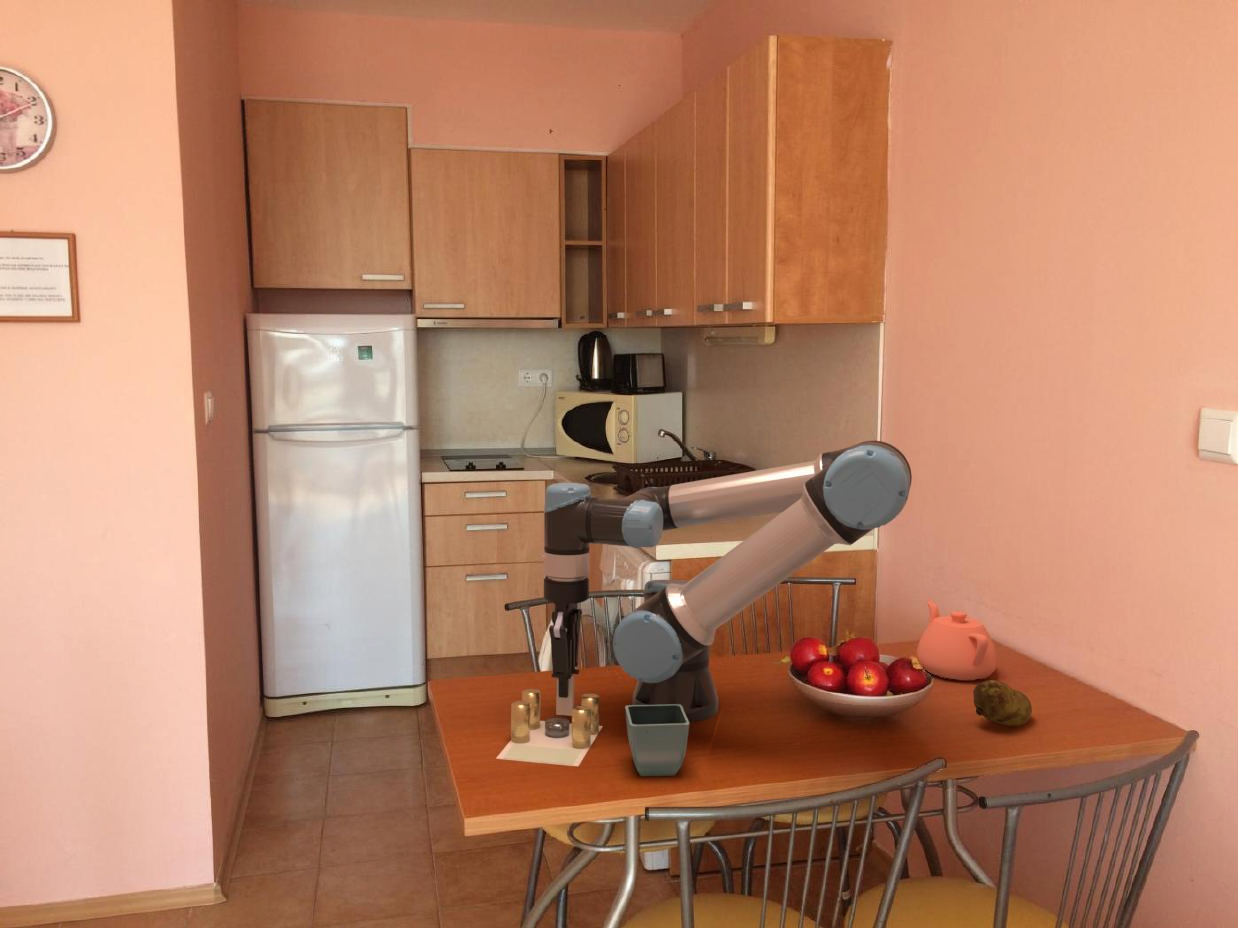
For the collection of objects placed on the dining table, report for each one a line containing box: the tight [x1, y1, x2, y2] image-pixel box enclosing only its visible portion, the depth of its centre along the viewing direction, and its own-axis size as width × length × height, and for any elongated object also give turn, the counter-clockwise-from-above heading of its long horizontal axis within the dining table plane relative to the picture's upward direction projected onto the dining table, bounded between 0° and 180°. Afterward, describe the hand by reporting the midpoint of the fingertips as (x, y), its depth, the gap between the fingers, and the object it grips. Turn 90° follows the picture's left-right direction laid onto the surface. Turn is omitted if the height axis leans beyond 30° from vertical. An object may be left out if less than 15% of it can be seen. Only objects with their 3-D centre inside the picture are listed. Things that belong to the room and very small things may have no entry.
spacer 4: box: [571, 705, 592, 749], centre depth 163 cm, size 3×3×6 cm
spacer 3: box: [580, 693, 600, 735], centre depth 169 cm, size 3×3×6 cm
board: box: [495, 720, 603, 767], centre depth 165 cm, size 13×17×1 cm
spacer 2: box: [521, 688, 541, 730], centre depth 171 cm, size 3×3×6 cm
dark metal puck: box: [544, 717, 570, 738], centre depth 168 cm, size 4×4×2 cm
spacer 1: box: [510, 700, 530, 744], centre depth 165 cm, size 3×3×6 cm
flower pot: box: [624, 704, 690, 777], centre depth 155 cm, size 9×9×9 cm
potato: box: [972, 679, 1033, 727], centre depth 176 cm, size 8×13×8 cm, turn 109°
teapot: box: [916, 599, 998, 681], centre depth 205 cm, size 22×15×12 cm
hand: (565, 713), depth 174 cm, fingers closed
